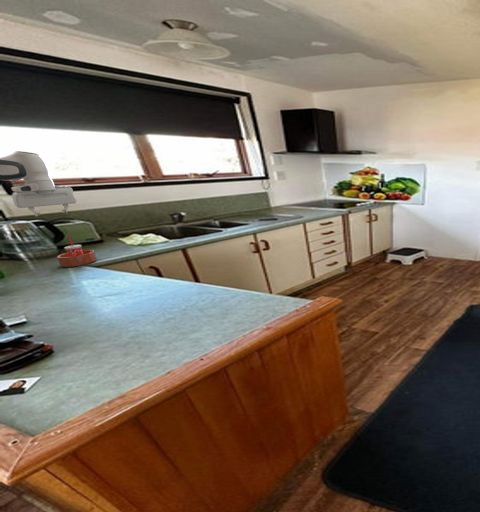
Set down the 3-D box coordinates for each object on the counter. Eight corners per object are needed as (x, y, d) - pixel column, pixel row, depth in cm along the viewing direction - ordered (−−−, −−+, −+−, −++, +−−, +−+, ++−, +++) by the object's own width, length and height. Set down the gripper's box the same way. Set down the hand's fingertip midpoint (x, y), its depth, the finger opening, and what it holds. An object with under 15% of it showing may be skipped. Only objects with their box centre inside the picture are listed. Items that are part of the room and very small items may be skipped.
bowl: (57, 269, 136) (53, 259, 135) (65, 262, 146) (61, 253, 145) (94, 263, 144) (90, 254, 142) (99, 257, 154) (95, 248, 152)
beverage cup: (68, 265, 141) (57, 239, 137) (74, 261, 146) (64, 236, 142) (83, 263, 143) (73, 237, 139) (89, 259, 149) (80, 235, 144)
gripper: (67, 185, 144) (77, 211, 148) (5, 188, 126) (18, 217, 131) (73, 185, 142) (82, 211, 146) (11, 188, 124) (24, 218, 128)
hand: (52, 214), depth 138 cm, fingers open, 8 cm apart
